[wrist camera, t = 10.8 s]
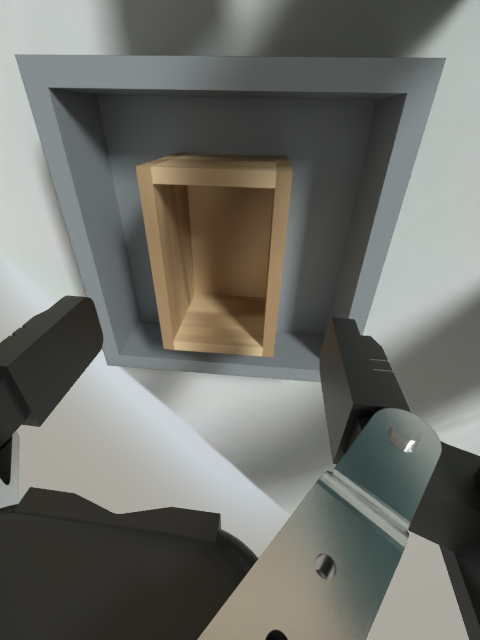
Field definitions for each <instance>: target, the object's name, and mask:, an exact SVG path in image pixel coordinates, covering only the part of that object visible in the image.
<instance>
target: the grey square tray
mask: <svg viewBox="0 0 480 640" xmlns="http://www.w3.org/2000/svg"><path fill="white" fill-rule="evenodd" d="M15 57H16V60H17V63H18V67H19V70H20V74H21V77H22V80H23V84H24V87H25V90H26V94H27V97H28V100H29V104H30V107H31V110H32V114H33V117H34V120H35V124H36V127H37V130H38V134H39V137H40V141H41V144H42V147H43V151H44V154H45V157H46V161H47V164H48V167H49V171H50V174H51V177H52V181H53V184H54V187H55V191H56V194H57V197H58V201H59V204H60V208H61V211H62V214H63V218H64V221H65V224H66V228H67V231H68V234H69V238H70V241H71V244H72V248H73V251H74V254H75V258H76V261H77V264H78V268H79V271H80V275H81V278H82V281H83V285H84V288H85V291H86V295H87V297H89V298H91V299H92V300H93V302H94V304H95V307H96V311H97V314H98V318H99V321H100V325H101V328H102V332H103V345H102V348H103V352H104V355H105V358H106V362H107V365H111V366H123V367H135V368H148V369H160V370H173V371H185V372H198V373H210V374H223V375H236V376H248V377H261V378H273V379H286V380H298V381H311V382H321V378H320V368H319V367H320V355H321V350H322V346H323V341H324V337H325V332H326V328H327V323H328V320H329V318H330V317H333V318H345V319H354V320H355V321H356V324H357V327H358V329H359V332H360V335H363V331H364V328H365V325H366V321H367V318H368V315H369V311H370V308H371V305H372V301H373V298H374V295H375V291H376V288H377V285H378V282H379V278H380V275H381V272H382V268H383V265H384V262H385V258H386V255H387V252H388V248H389V245H390V242H391V239H392V235H393V232H394V229H395V225H396V222H397V219H398V215H399V212H400V209H401V205H402V202H403V199H404V196H405V192H406V189H407V186H408V182H409V179H410V176H411V172H412V169H413V166H414V162H415V159H416V156H417V152H418V149H419V146H420V143H421V139H422V136H423V133H424V129H425V126H426V123H427V119H428V116H429V113H430V109H431V106H432V103H433V100H434V96H435V93H436V90H437V86H438V83H439V80H440V76H441V73H442V70H443V66H444V63H445V60H446V58H378V57H258V56H138V55H18V54H15ZM175 153H197V154H230V155H264V156H287V158H288V161H289V163H290V166H291V168H292V171H293V174H292V183H291V193H290V202H289V212H288V221H287V231H286V241H285V250H284V260H283V269H282V279H281V288H280V298H279V308H278V317H277V327H276V336H275V346H274V355H273V357H263V356H250V355H237V354H223V353H210V352H197V351H183V350H170V349H164V347H163V340H162V334H161V328H160V321H159V315H158V308H157V302H156V295H155V289H154V282H153V276H152V270H151V263H150V257H149V250H148V244H147V237H146V231H145V224H144V218H143V211H142V205H141V199H140V192H139V186H138V179H137V173H136V166H138V165H141V164H144V163H147V162H150V161H154V160H157V159H160V158H163V157H166V156H169V155H172V154H175Z"/></svg>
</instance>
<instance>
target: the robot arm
mask: <svg viewBox="0 0 480 640" xmlns="http://www.w3.org/2000/svg"><path fill="white" fill-rule="evenodd" d="M102 345H103V332H102V328H101V325H100V321H99V318H98V314H97V311H96V307H95V304H94V302H93V300H92V299H91V298H89V297H78V296H65V297H63V298H62V299H61V300H59V301H58V302H57V303H56V304H54V305H53V306H52V307H51V308H49V309H48V310H46V311H44V312H42V313H40V314H38V315H36V316H34V317H33V318H31V319H30V320H29V321H28V322H26V323H25V324H24V325H23V326H22V328H19V329H17V330H16V331H15V332H14V333H12V336H9V337H7V338H6V339H5V340H3V341H2V342H1V343H0V640H366V638H367V636H368V633H369V631H370V628H371V626H372V624H373V622H374V619H375V617H376V614H377V612H378V610H379V607H380V605H381V603H382V600H383V598H384V595H385V593H386V591H387V589H388V586H389V584H390V582H391V579H392V577H393V575H394V572H395V570H396V568H397V565H398V563H399V561H400V558H401V556H402V553H403V551H404V549H405V546H406V544H407V541H408V537H409V533H408V532H407V531H408V530H409V531H411V532H413V533H415V534H417V535H419V536H422V537H424V538H426V539H428V540H430V541H432V542H434V543H436V544H439V545H440V549H441V552H442V555H443V558H444V561H445V564H446V567H447V570H448V574H449V577H450V580H451V583H452V586H453V590H454V593H455V596H456V599H457V602H458V605H459V608H460V612H461V615H462V618H463V621H464V624H465V627H466V631H467V634H468V637H469V640H480V456H478V455H475V454H472V453H469V452H467V451H464V450H461V449H458V448H456V447H453V446H450V445H448V444H446V443H443V442H442V441H440V439H439V437H438V435H437V434H436V432H435V431H434V430H433V428H432V427H431V426H430V425H429V424H428V423H427V422H425V421H424V420H423V419H421V418H420V417H418V416H416V415H415V414H412V413H411V412H410V410H409V407H408V405H407V403H406V401H405V398H404V396H403V394H402V391H401V389H400V387H399V385H398V382H397V380H396V378H395V376H394V373H393V372H392V369H391V366H390V364H389V362H387V357H386V355H385V353H384V351H383V348H382V347H381V346H380V345H379V344H378V343H377V342H376V341H375V340H374V339H373V338H372V337H371V336H362V335H360V332H359V329H358V327H357V324H356V321H355V320H354V319H345V318H333V317H330V318H329V320H328V323H327V328H326V332H325V337H324V341H323V346H322V350H321V355H320V367H319V368H320V378H321V385H322V392H323V399H324V405H325V412H326V419H327V426H328V433H329V439H330V446H331V453H332V460H333V464H337V465H336V467H335V468H334V469H333V470H332V471H331V472H329V471H327V472H325V473H324V474H323V475H322V476H321V477H320V478H319V480H318V481H317V482H316V484H315V485H314V486H313V488H312V489H311V490H310V491H309V493H308V494H307V495H306V497H305V498H304V499H303V501H302V502H301V503H300V505H299V506H298V507H297V509H296V510H295V511H294V513H293V514H292V515H291V517H290V518H289V519H288V521H287V522H286V523H285V525H284V526H283V527H282V529H281V530H280V531H279V532H278V534H277V535H276V536H275V538H274V539H273V540H272V542H271V543H270V544H269V546H268V547H267V548H266V550H265V551H264V552H263V554H262V555H261V556H260V558H258V557H257V556H256V555H255V554H254V553H253V552H252V551H251V550H250V549H249V548H248V547H247V546H246V545H245V544H244V543H243V542H242V541H240V540H239V539H237V538H236V537H234V536H233V535H231V534H229V533H228V532H225V531H224V530H222V529H221V520H220V519H221V518H220V514H218V513H211V512H204V511H197V510H190V509H182V508H175V507H168V508H161V509H154V510H147V511H139V512H133V513H125V514H115V513H112V512H110V511H108V510H106V509H104V508H102V507H100V506H98V505H96V504H94V503H92V502H90V501H89V500H87V499H85V498H83V497H81V496H79V495H77V494H74V493H68V492H61V491H54V490H47V489H40V488H33V487H30V488H29V490H28V491H27V492H26V494H25V495H24V497H23V498H22V499H21V501H20V498H19V492H18V484H19V435H18V433H17V432H16V430H17V429H18V428H19V427H20V425H30V426H38V427H40V426H41V424H42V423H43V422H44V421H45V419H46V418H47V417H48V416H49V415H50V413H51V412H52V411H53V410H54V408H55V407H56V406H57V404H58V403H59V402H60V401H61V400H62V398H63V397H64V396H65V394H66V393H67V392H68V391H69V390H70V388H71V387H72V386H73V384H74V383H75V382H76V381H77V379H78V378H79V377H80V375H81V374H82V373H83V372H84V371H85V369H86V368H87V367H88V366H89V364H90V363H91V362H92V361H93V359H94V358H95V357H96V356H97V354H98V353H99V352H100V350H101V348H102Z"/></svg>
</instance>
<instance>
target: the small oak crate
mask: <svg viewBox="0 0 480 640" xmlns="http://www.w3.org/2000/svg"><path fill="white" fill-rule="evenodd" d="M136 173H137V179H138V186H139V192H140V199H141V205H142V211H143V218H144V224H145V231H146V237H147V244H148V250H149V257H150V263H151V270H152V276H153V282H154V289H155V295H156V302H157V308H158V315H159V321H160V328H161V334H162V340H163V347H164V349H170V350H183V351H197V352H210V353H223V354H237V355H250V356H263V357H273V355H274V346H275V336H276V327H277V317H278V308H279V298H280V288H281V279H282V269H283V260H284V250H285V241H286V231H287V221H288V212H289V202H290V193H291V183H292V174H293V171H292V168H291V166H290V163H289V161H288V158H287V156H264V155H230V154H197V153H175V154H172V155H169V156H166V157H163V158H160V159H157V160H154V161H150V162H147V163H144V164H141V165H138V166H136Z"/></svg>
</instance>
